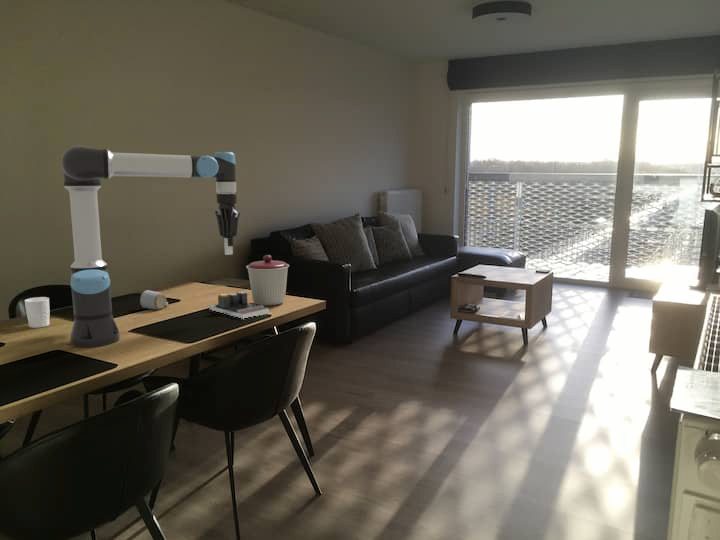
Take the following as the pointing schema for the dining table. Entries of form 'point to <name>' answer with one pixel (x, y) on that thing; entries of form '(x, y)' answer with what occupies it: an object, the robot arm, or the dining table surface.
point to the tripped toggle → (223, 300)
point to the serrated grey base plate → (240, 307)
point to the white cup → (38, 312)
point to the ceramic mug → (153, 300)
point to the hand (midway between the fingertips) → (228, 254)
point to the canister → (268, 281)
